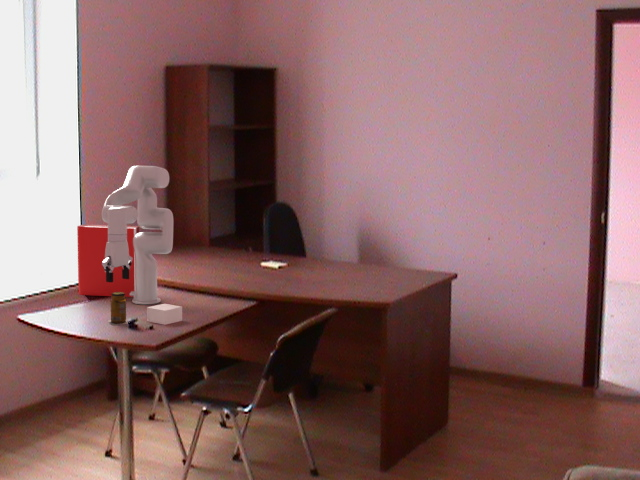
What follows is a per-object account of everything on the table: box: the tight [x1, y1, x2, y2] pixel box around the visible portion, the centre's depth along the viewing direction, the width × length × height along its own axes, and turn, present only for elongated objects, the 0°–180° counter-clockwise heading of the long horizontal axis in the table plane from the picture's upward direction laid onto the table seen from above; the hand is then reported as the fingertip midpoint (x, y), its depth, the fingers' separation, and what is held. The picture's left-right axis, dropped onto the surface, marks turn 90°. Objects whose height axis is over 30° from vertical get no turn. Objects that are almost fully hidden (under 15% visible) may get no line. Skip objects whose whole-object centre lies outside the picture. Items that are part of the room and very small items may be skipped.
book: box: [76, 224, 140, 298], centre depth 426 cm, size 27×8×32 cm, turn 84°
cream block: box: [146, 303, 183, 326], centre depth 375 cm, size 10×10×6 cm
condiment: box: [107, 292, 129, 326], centre depth 371 cm, size 7×8×12 cm
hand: (117, 280), depth 369 cm, fingers open, 9 cm apart
